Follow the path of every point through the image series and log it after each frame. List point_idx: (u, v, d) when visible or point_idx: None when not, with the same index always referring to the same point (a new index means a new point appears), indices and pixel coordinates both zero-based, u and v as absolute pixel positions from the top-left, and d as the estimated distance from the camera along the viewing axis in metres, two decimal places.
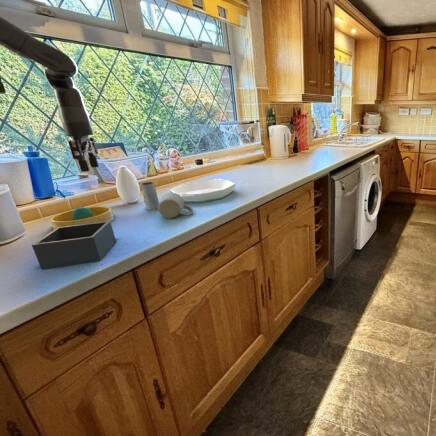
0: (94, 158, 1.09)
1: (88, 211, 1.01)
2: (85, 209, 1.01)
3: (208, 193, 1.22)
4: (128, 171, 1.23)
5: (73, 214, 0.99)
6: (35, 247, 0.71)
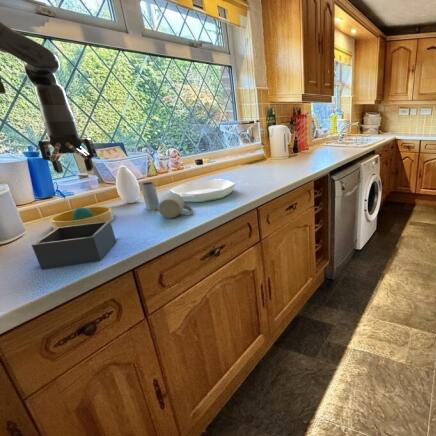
0: (59, 162, 0.98)
1: (88, 211, 1.01)
2: (85, 209, 1.01)
3: (208, 193, 1.22)
4: (128, 171, 1.23)
5: (73, 214, 0.99)
6: (35, 247, 0.71)
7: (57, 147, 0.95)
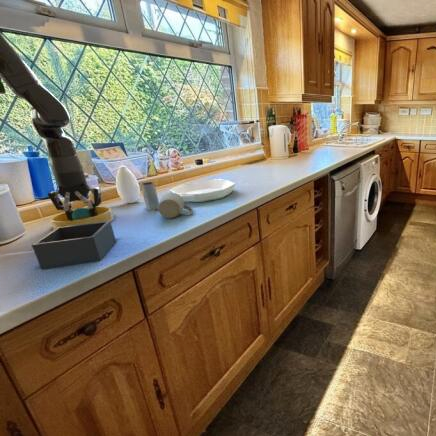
0: (72, 211, 1.01)
1: (88, 211, 1.01)
2: (85, 209, 1.01)
3: (208, 193, 1.22)
4: (128, 171, 1.23)
5: (73, 214, 0.99)
6: (35, 247, 0.71)
7: (67, 196, 0.97)
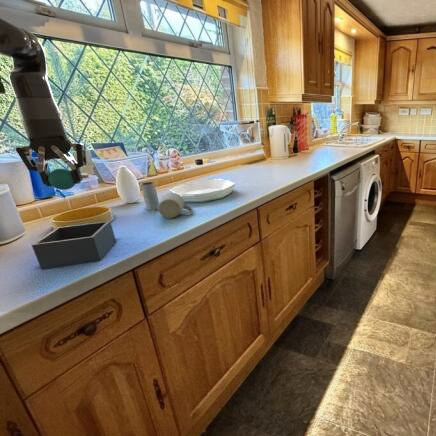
0: (49, 173, 0.79)
1: (70, 173, 0.79)
2: (65, 170, 0.79)
3: (208, 193, 1.22)
4: (128, 171, 1.23)
5: (50, 176, 0.77)
6: (35, 247, 0.71)
7: (41, 152, 0.75)
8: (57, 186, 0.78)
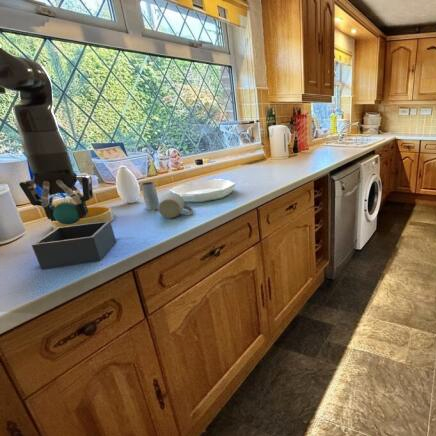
0: (53, 207, 0.75)
1: (75, 207, 0.76)
2: (70, 204, 0.75)
3: (208, 193, 1.22)
4: (128, 171, 1.23)
5: (54, 211, 0.74)
6: (35, 247, 0.71)
7: (46, 187, 0.72)
8: (62, 221, 0.74)
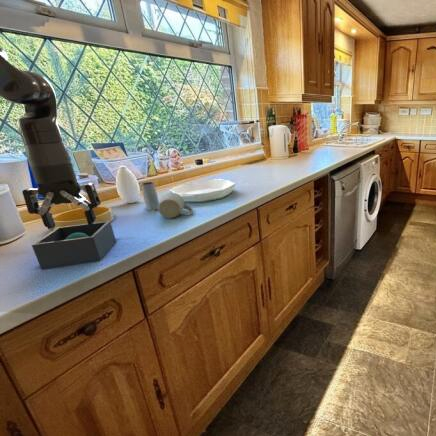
0: (50, 215, 0.76)
1: None
2: (81, 235, 0.78)
3: (208, 193, 1.22)
4: (128, 171, 1.23)
5: None
6: (35, 247, 0.71)
7: (49, 197, 0.72)
8: None
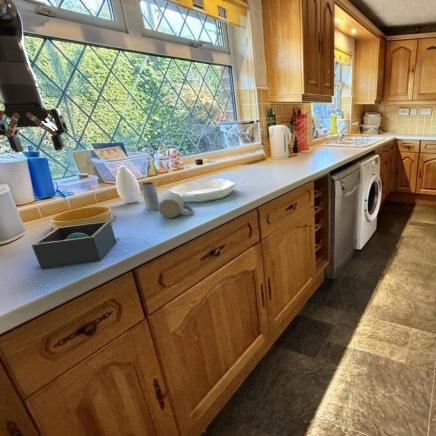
0: (18, 139, 0.78)
1: None
2: (81, 235, 0.78)
3: (208, 193, 1.22)
4: (128, 171, 1.23)
5: None
6: (35, 247, 0.71)
7: (15, 118, 0.74)
8: None
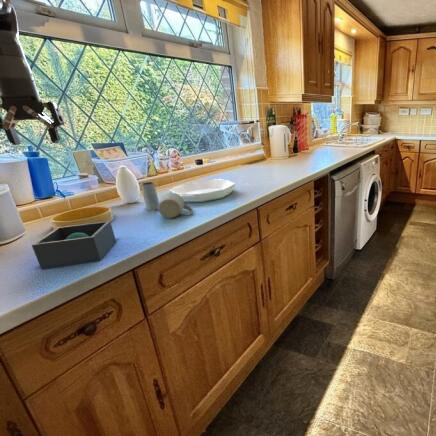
0: (15, 132, 0.79)
1: None
2: (81, 235, 0.78)
3: (208, 193, 1.22)
4: (128, 171, 1.23)
5: None
6: (35, 247, 0.71)
7: (12, 111, 0.76)
8: None
